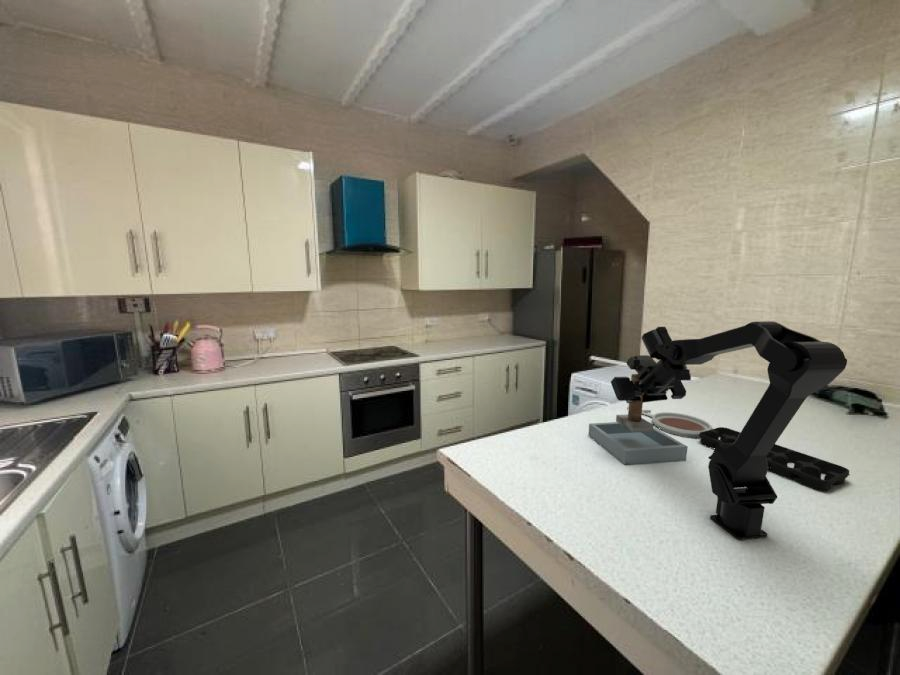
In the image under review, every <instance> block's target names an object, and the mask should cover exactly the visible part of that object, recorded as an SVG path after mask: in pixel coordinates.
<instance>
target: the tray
mask: <svg viewBox="0 0 900 675" xmlns="http://www.w3.org/2000/svg"><path fill="white" fill-rule="evenodd" d="M588 435H589V436H590V437H591V438H590V437H589V436H588V437H589V438H590V439H592V440H593V439H594V440H595V441H596V444H598V446H600V445H601V447H602V448H603V449H604V450H605V451H606V452H608V453H609V454H610V455H611V454H612V455H611V456H613V457H614V458H615V459H617V460H618V461H619V462H620V463H621V464H622V465H624V466H631V465H644V464H658V463H659V462H660V463H670V461H673V462H683V461H684V460H686V461H687V457H688V455H687V454H688V445H685V444H684V443H682V442H680V441H679V440H677V439H675V438H673V437H672V436H670V435H668V433H667V434H666V432H665V433H664V431H662V430H660V429H659V428H657V427H655V426H653V432H631V431H630V430H628V429H627V428H625V427H624V426H622V425H621V424H619V423H618V422H616V421H615V422H614V421H611V422H597V423H595V422H594V423H588ZM594 440H593V441H594ZM595 441H594V442H595ZM684 462H685V461H684Z"/></svg>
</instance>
